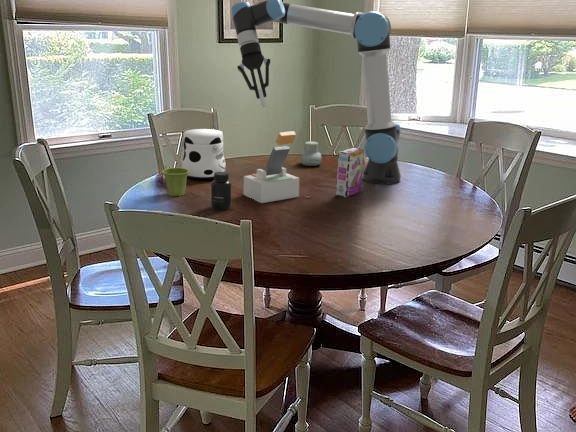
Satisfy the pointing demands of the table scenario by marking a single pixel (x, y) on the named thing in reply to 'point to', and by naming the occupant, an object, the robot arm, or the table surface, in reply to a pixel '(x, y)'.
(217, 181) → the supplement bottle
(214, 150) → the white black spotted container
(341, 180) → the candy bar box
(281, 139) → the switch lever
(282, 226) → the table surface
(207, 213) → the table surface
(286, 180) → the switch box
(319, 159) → the air freshener
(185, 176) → the plant pot
